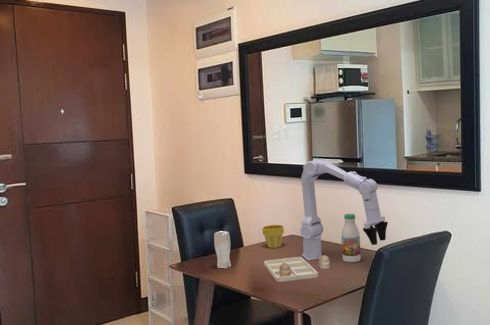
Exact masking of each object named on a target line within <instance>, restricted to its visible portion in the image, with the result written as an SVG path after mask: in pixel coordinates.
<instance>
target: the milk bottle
mask: <svg viewBox="0 0 490 325" xmlns="http://www.w3.org/2000/svg"><path fill="white" fill-rule="evenodd" d="M343 218H344V225H343V227H342V230H341V251H342V252H341V253H342V261H343V262H345V263H357V262H358V263H359V262H360V261H361V258H362V255H361V254H362V252H361V237H360V231H359V228H358V227H357V224H356V215H355V214H354V213H346V214H344V215H343Z"/></svg>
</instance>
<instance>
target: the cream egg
mask: <svg viewBox="0 0 490 325" xmlns="http://www.w3.org/2000/svg"><path fill="white" fill-rule="evenodd" d="M330 261H331V260H330V257H329V256H327V255H325V254H324V255H323V254H322V256H321V257H320V258H319V259H318V266H319V269H321V270H328V269H331V262H330Z"/></svg>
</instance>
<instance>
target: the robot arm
mask: <svg viewBox="0 0 490 325" xmlns="http://www.w3.org/2000/svg"><path fill="white" fill-rule="evenodd" d="M302 168H303V171H302V174H301V177H300V178H301V179H300V180H301V190H302V200H303V201H302V202H303V209H304V210H303V211H304V218H303V219H302V222H301V228H300V234H301V236H302V238H303V240H302V245H303V246H302V247H303V248H302V250H303V253H302V254H301V257H302V258H303V259H304V260H305V261H309V260H317V259H318V260H319V258H320V257H321V256H323V254H322V241H321V237H322V234H323V232H324V226H323V223H322V220H321V218H320V217H319V216H318V208H317V200H316V198H317V197H316V189H315V180H316V179H317V178H318V177H319V176H320V175H323V174H329V175H332V176H334V177H337V178H339V179H340V180H343V182H344V184H345V185H347V186H349V187H351V188H353V189H354V190H357V191H358V193H359V194H360V195H361V199H362V202H363V207H364V211H365V217H366V222H365V223H363V228H362V230H363V232H364V233H365V234H366V236H367V237H368V239H369V242H370V243H371V245H372V246H376V245H378V239H379V240H380V241H386V239H387V237H386V236H387V228H388V224H389V223H388V221H386V219H385V216H384V215H383V216H382V215H381V210H380V204H379V200H378V194H377V190H378V186H379V185H378V183H377V182H376V181H375V180H374V179H373V178H367V177H366V176H361V175H360V174H358V173H357V171H348V172H347V171H346V170H344V169H342V168H340V167H339V166H336V165H335V164H333V163H332V162H330V161H329V160H326V159H324V158H319V159H313V160H308V161H307V162H305V163H304V165H303V166H302ZM377 235H378V236H377Z"/></svg>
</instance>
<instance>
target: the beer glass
mask: <svg viewBox="0 0 490 325" xmlns="http://www.w3.org/2000/svg"><path fill="white" fill-rule="evenodd" d="M213 234H214V235H213V239H214V242H213V243H214V250H215V254H216V258H217V263H216V268H217V269H221V268H224V269H228V267H229V268H231V267H232V265H231V260H230V254H231V236H230V231H225V230H220V231H216V232H214V233H213ZM230 266H231V267H230Z"/></svg>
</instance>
